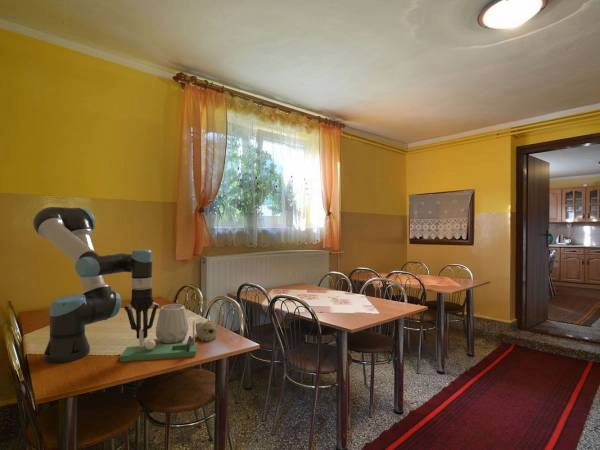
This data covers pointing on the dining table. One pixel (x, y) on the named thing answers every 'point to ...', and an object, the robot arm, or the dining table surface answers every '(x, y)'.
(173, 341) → the vase
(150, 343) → the ball
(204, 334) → the seashell
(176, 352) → the green
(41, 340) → the dining table surface
